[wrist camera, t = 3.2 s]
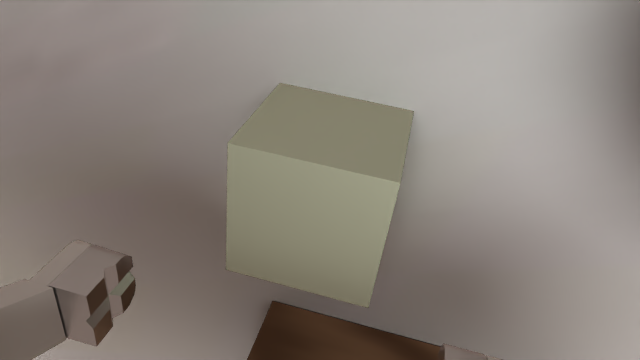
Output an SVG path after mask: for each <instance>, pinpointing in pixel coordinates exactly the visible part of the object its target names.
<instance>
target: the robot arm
mask: <svg viewBox="0 0 640 360" xmlns="http://www.w3.org/2000/svg"><path fill="white" fill-rule="evenodd" d="M132 267H133V262H132V257H131V256H128V255H126V254H123V253H119V252H116V251H113V250H110V249H107V248H103V247H100V246H97V245H93V244H90V243H86V242H83V241H80V240H76V241H73V242H71V243H69V244H68V245H67V246H66V247H65V248H64V249H63V250H62V251H61V252H60V253H59V254H57V255H56V256H55V257H54V258H53V259H52V260H51V261H50V262H49V263H48V264H46V265H45V266H44V267H43V268H42V269H41V270H40V271H39V272H38V273H37V274H36V275H34V276H33V277H32V278H31V279H30V280H25V279H23V280H20V281H17V282H15V283H12V284H9V285H6V286H4V287H1V288H0V360H32V359H33V358H35V357H37V356H39V355H40V354H42V353H44V352H46V351H47V350H49V349H51V348H53V347H54V346H56V345H58V344H60V343H61V342H63V341H65V340H66V338H69V339H73V340H76V341H80V342H83V343H87V344H90V345H94V346H98V344H99V343H100V342H101V341H102V339H103V338H104V337H105V335H106V334H107V333H108V332H109V330H110V329H111V328H112V327H113V318H114V317H116V316H118V315H120V314H122V313H124V311H125V310H126V309H127V307H128V306H129V305H130V303H131V300H132V298H133V296H134V293H135V286H136V284H135V278H134V277H133V276H132V274H131V273H130V272H129V271H130V269H131V268H132ZM438 360H502V359H498V358H495V357H491V356H488V355H484V354H481V353H478V352H474V351H470V350H467V349H463V348H459V347H455V346H452V345H448V344H444V343H443V345H442V346H441V348H440V350H439V352H438Z"/></svg>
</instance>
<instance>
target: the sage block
mask: <svg viewBox="0 0 640 360" xmlns="http://www.w3.org/2000/svg"><path fill="white" fill-rule="evenodd" d="M413 114H414V111H411V110H407V109H402V108H397V107H392V106H388V105H383V104H378V103H373V102H369V101H364V100H359V99H354V98H350V97H345V96H340V95H335V94H331V93H326V92H321V91H316V90H312V89H307V88H302V87H297V86H293V85H288V84H283V83H279V85H278V86H277V87H276V88H275V89H274V90H273V92H272V93H271V94H270V95H269V96H268V97H267V98H266V100H265V101H264V102H263V103H262V104H261V105H260V106H259V108H258V109H257V110H256V111H255V112H254V113H253V114H252V116H251V117H250V118H249V119H248V120H247V121H246V122H245V124H244V125H243V126H242V127H241V128H240V129H239V130H238V132H237V133H236V134H235V135H234V136H233V137H232V139H231V140H230V141H229V142H228V147H227V217H226V270H229V271H232V272H236V273H240V274H244V275H247V276H251V277H255V278H258V279H262V280H266V281H270V282H273V283H277V284H281V285H284V286H288V287H292V288H296V289H299V290H303V291H307V292H310V293H314V294H318V295H322V296H325V297H329V298H333V299H336V300H340V301H344V302H348V303H351V304H355V305H359V306H362V307H366V308H369V304H370V300H371V296H372V292H373V288H374V284H375V280H376V276H377V273H378V269H379V265H380V261H381V257H382V253H383V249H384V245H385V241H386V238H387V234H388V230H389V226H390V222H391V218H392V214H393V210H394V206H395V202H396V199H397V195H398V191H399V187H400V183H401V178H402V172H403V167H404V162H405V156H406V151H407V146H408V140H409V135H410V130H411V124H412V119H413Z"/></svg>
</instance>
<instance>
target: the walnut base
mask: <svg viewBox="0 0 640 360" xmlns="http://www.w3.org/2000/svg"><path fill="white" fill-rule="evenodd" d="M440 348H441V347H439V346H435V345H431V344H428V343H424V342H421V341H417V340H413V339H410V338H406V337H402V336H399V335H395V334H391V333H388V332H384V331H380V330H377V329H373V328H369V327H366V326H362V325H359V324H355V323H351V322H348V321H344V320H340V319H337V318H333V317H329V316H326V315H322V314H318V313H315V312H311V311H307V310H304V309H300V308H296V307H293V306H289V305H286V304H282V303H278V302H275V301H272V304H271V306H270V308H269V310H268V313H267V315H266V317H265V320H264V322H263V324H262V326H261V329H260V331H259V333H258V336H257V338H256V340H255V342H254V345H253V347H252V349H251V352H250V354H249V356H248V358H247V360H438V352H439V350H440Z"/></svg>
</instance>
